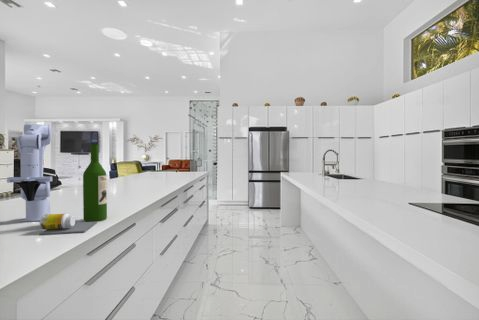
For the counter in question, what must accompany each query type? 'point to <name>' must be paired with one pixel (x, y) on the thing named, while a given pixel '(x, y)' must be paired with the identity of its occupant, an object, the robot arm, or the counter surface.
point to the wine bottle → (94, 189)
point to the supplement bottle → (56, 221)
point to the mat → (71, 229)
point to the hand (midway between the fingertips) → (30, 200)
